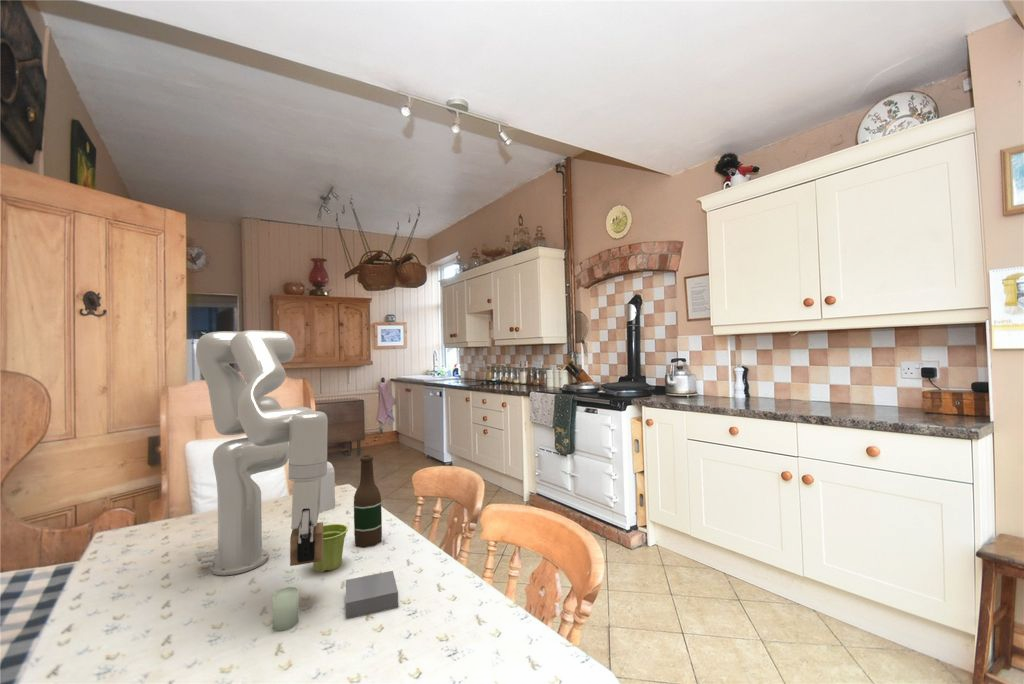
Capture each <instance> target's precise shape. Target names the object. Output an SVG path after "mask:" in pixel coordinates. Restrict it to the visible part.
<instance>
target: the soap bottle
mask: <svg viewBox="0 0 1024 684" xmlns="http://www.w3.org/2000/svg"><path fill="white" fill-rule="evenodd" d="M335 473H336V472H335V468H334V466H333V464H332V462H329V461H328V460H327V475H326V476H325V477H323V478H321V496H320V509H319V514H321V513H324V512H327V511H329V510H333V509H335V507H336V491H335V490H336V489H335V488H336V486H335V485H336V483H335V482H336V481H335V480H336V479H335V478H336V477H335ZM332 508H333V509H332Z"/></svg>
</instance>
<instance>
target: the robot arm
mask: <svg viewBox="0 0 1024 684" xmlns="http://www.w3.org/2000/svg"><path fill="white" fill-rule="evenodd" d="M195 346H196V347H195V358H196V361H197V362H196V363H197V366H198V368H199V370H200V373H201V375H202V377H203V379H204V381H205V383H206V385H207V389H208V394H209V396H208V397H209V401H210V408H211V412H212V413H211V415H212V420H213V423H214V427H215V430H216V432H217V433H218V434H219V435H221V436H238V435H243V434H244V435H245V436H246V437H241V438H236V439H232V440H227V441H225V442H223V443H220V444H219V445H218V446H217V447H216V448H215V449H214V450H213V453H212V466H213V469H214V475H215V481H216V489H217V490H216V492H217V549H216V548H215V549H214V550H213V551H205V552H201V553H200V552H199V553H198V554H197V555H198V556H197V562H198V563H199V562H200V564H201V565H202V564H208V563H212V564H211V565H210V572H211V573H212V574H214V575H217V576H231V575H232V576H234V575H237V574H241V573H245V572H249V571H251V570H255V569H257V568H258V567H260V566H262V565H264V564H265V563H266V562H267V561H268V560H269V558H270V555H269V551H268V550H266V549H263V544H262V543H263V536H262V533H263V531H262V530H263V529H262V527H263V526H262V521H263V520H262V519H263V518H262V491H261V488H260V486H259V485H258V483H257V482H255V481H254V480H253V479H252V477H251V476H252V475H255V474H259V473H263V472H268V471H272V470H277V469H279V468H282V467H284V466H286V464H287V463H288V480H289V481H291V482H293V485H292V501H291V503H292V504H291V525H290V528H291V530H295V529H297V528H298V526H299V540H298V543H297V562H299V563H300V562H306V561H312V560H314V552H315V540H313V531H314V527H315V526H316V525H317V523H318V519H319V515H320V513H319V509H320V496H321V478H323V477H325V476H326V475H327V461H328V425H329V423H328V419H329V418H328V416H327V414H326V413H325V412H323V411H320V410H313V409H312V408H310V407H306V406H296V407H295V406H293V407H286V408H282V407H281V404H279V401H278V400H277V399H276V398H274V397H272V396H267V395H268V394H270V393H273V392H274V391H275V390H277V389H278V388H280V387H281V386H282V384H284V382H285V380H286V378H287V374H286V370H285V368H284V366H283V365H282V364H283V363H288V362H290V361H291V360H292V359H293V358H294V357H295V353H296V345H295V342H294V339H293V337H292V336H291V335H290V334H289V333H287V332H285V331H282V330H264V329H263V330H259V329H258V330H257V329H256V330H254V329H253V330H252V329H248V330H244V331H226V330H225V331H212V332H208V333H205V334H203V335H201V336H200V337H199V339H198V341H197V343H196V345H195ZM230 364H237V367H238V369H239V371H240V373H239V372H238V371H237V370H236V369H235V368H233V367H232V366H231V365H230ZM309 524H312V526H309ZM301 525H302V527H301ZM309 529H311V533H310V532H309Z"/></svg>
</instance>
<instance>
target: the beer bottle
mask: <svg viewBox="0 0 1024 684" xmlns="http://www.w3.org/2000/svg"><path fill="white" fill-rule="evenodd" d="M359 461H360V462H361V463H360V478H359V479H360V481H359V485H358V487H357V488H356V491H355V493H354V496H353V525H354V526H353V527H354V529H353V531H354V532H353V535H354V545H355V547H357V548H364V549H365V548H369V547H370V548H371V547H375V546H377V545H378V544H380V543H382V540H383V539H382V538H383V527H382V526H383V524H382V523H383V522H382V520H383V519H382V515H383V514H382V496H381V493H380V490H379V487H378V486H377V485H376V483H375V477H374V466H373V461H374V457H373V455H371V454H365V455H362V456H360V459H359Z"/></svg>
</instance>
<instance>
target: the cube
mask: <svg viewBox="0 0 1024 684" xmlns="http://www.w3.org/2000/svg"><path fill="white" fill-rule="evenodd" d="M309 526H312V524H309ZM323 526H324V521H321V522H320V521H319V522H317V525H316V526H315V527H314V531H313V540H315V552H314V560H312V561H306V562H300V563H299V562H297V543H298V540H299V526H298V528H297V529H295V530H292V529H291V530H292V531H291V534H290V541H289V545H290V546H289V567H293V566H300V565H307V564H314V562H321V561H322V553H323ZM301 527H302V524H301ZM309 532H310V533H311V529H309Z"/></svg>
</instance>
